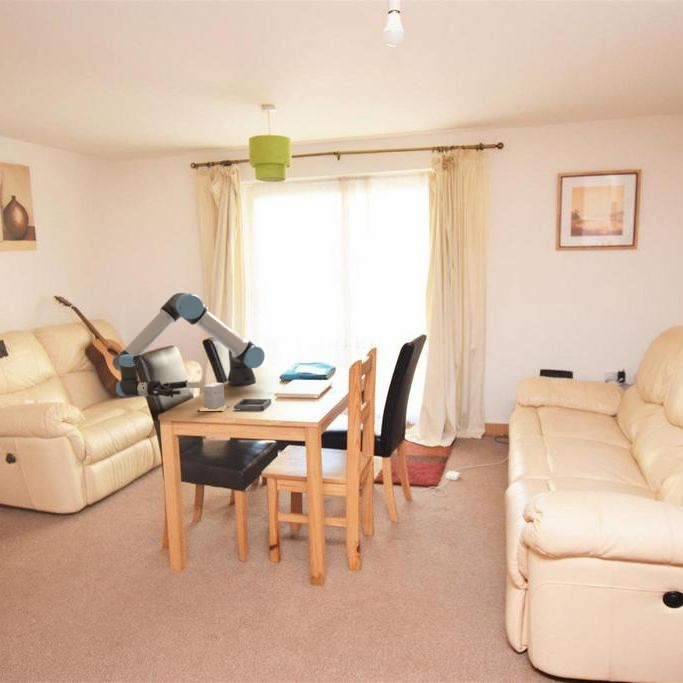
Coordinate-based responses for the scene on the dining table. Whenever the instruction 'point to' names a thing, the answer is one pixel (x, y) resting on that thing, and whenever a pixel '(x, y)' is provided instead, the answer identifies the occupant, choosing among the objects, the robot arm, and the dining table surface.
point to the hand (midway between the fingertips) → (194, 388)
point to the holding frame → (264, 403)
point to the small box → (214, 395)
